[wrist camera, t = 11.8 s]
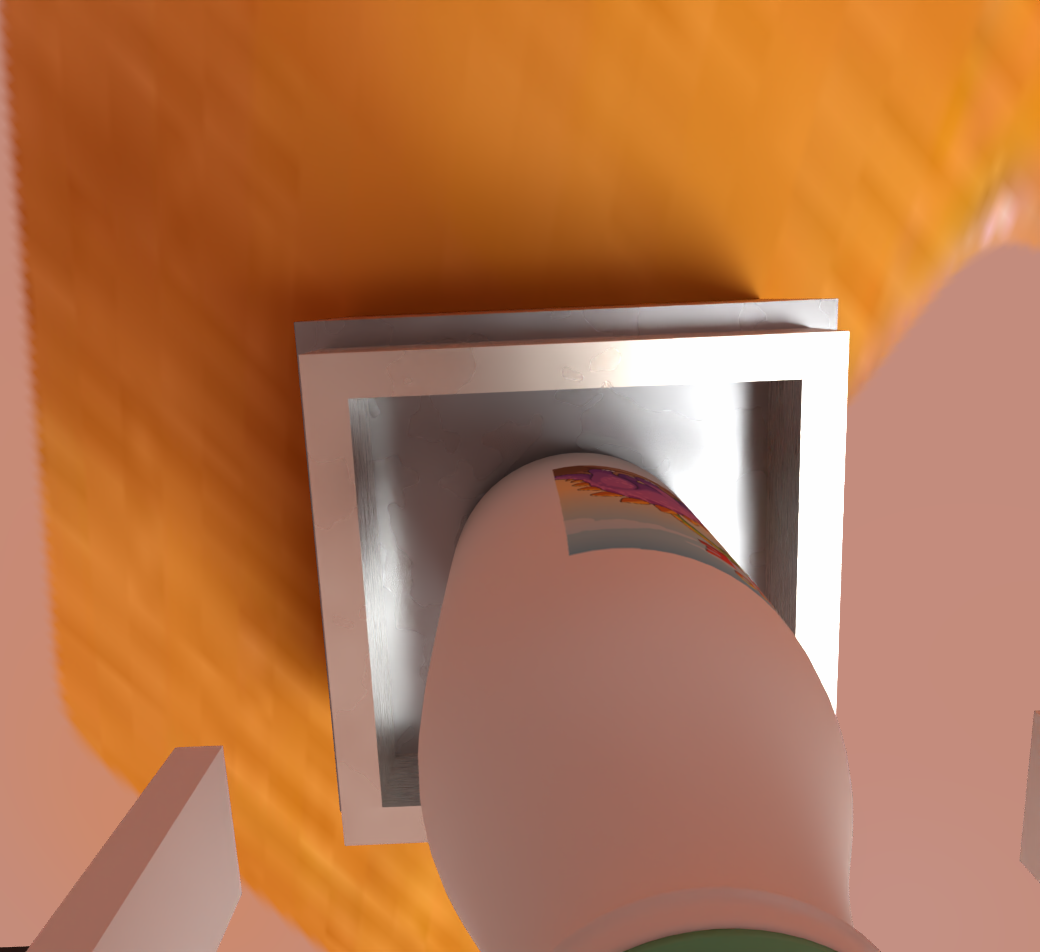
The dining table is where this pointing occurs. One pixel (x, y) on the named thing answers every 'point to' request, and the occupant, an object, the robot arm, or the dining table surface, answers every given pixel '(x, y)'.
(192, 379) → the dining table surface
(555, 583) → the milk bottle
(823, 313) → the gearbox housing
